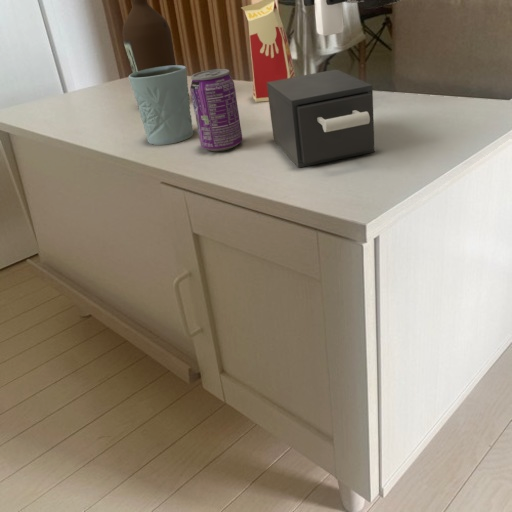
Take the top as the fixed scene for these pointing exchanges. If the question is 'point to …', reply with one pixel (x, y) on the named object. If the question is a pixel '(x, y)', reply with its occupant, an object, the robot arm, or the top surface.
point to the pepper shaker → (328, 18)
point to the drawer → (335, 127)
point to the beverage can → (216, 109)
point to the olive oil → (147, 38)
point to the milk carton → (267, 47)
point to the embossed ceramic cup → (163, 103)
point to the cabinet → (303, 92)
